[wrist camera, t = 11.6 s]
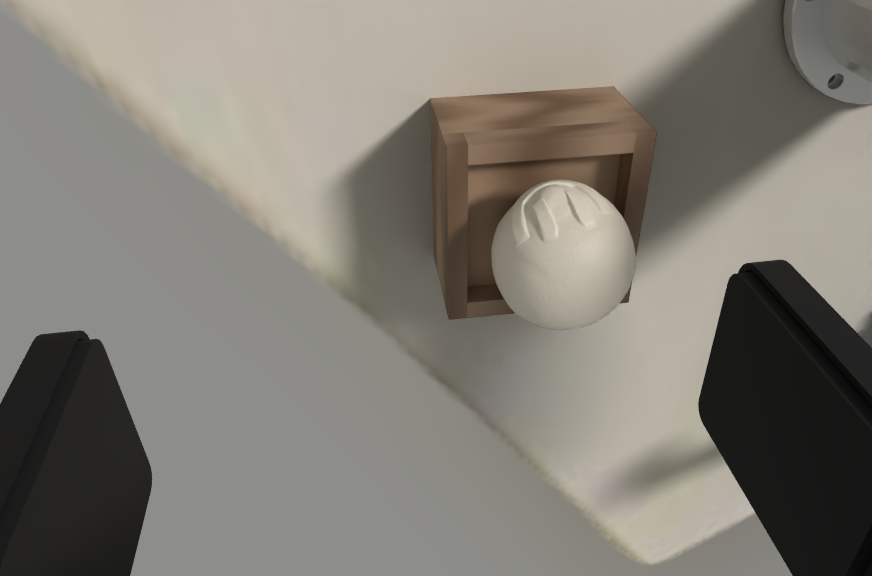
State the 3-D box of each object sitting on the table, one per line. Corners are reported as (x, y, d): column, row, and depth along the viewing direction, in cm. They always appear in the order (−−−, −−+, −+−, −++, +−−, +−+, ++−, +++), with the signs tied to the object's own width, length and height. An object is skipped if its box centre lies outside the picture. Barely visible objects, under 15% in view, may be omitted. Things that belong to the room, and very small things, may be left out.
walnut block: (611, 84, 39) (657, 131, 34) (592, 241, 45) (628, 302, 40) (429, 96, 38) (446, 146, 33) (433, 255, 44) (448, 319, 39)
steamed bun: (591, 136, 35) (656, 200, 30) (604, 254, 40) (662, 328, 34) (461, 180, 35) (503, 252, 30) (489, 293, 39) (529, 374, 34)
